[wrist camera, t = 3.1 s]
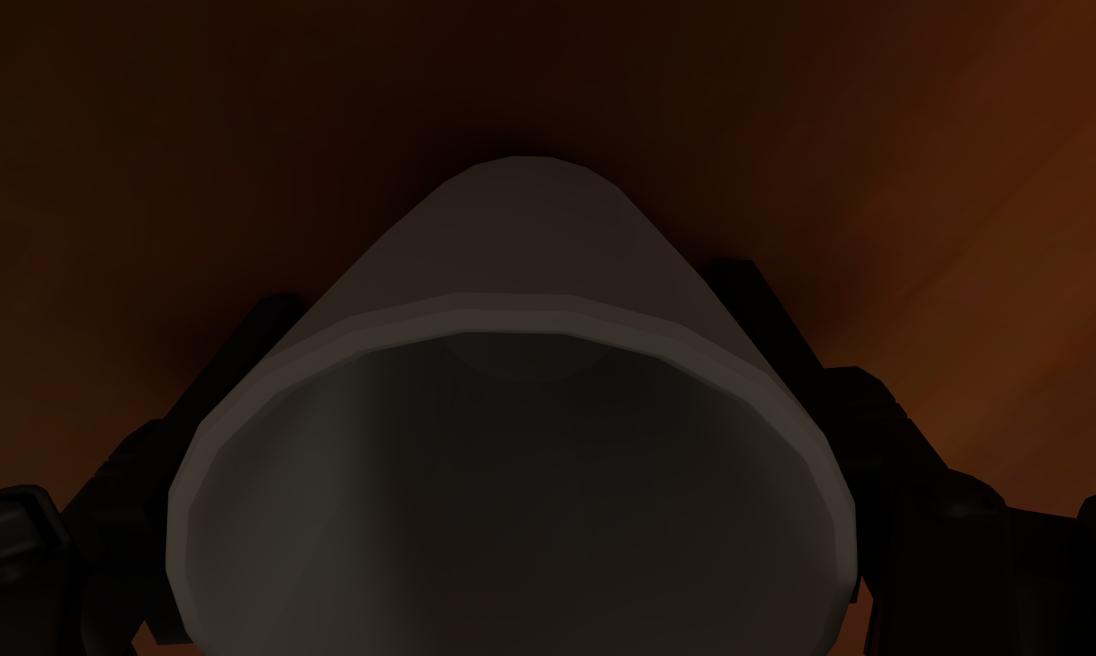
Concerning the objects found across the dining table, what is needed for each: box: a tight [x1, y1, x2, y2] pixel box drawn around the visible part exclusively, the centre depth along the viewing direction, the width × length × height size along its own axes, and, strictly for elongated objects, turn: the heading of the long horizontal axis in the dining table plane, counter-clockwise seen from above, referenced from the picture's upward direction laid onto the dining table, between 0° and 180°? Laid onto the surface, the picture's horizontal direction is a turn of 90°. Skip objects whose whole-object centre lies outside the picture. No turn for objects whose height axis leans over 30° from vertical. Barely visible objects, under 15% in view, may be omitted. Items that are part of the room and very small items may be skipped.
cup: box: [166, 156, 858, 656], centre depth 12 cm, size 8×10×8 cm
